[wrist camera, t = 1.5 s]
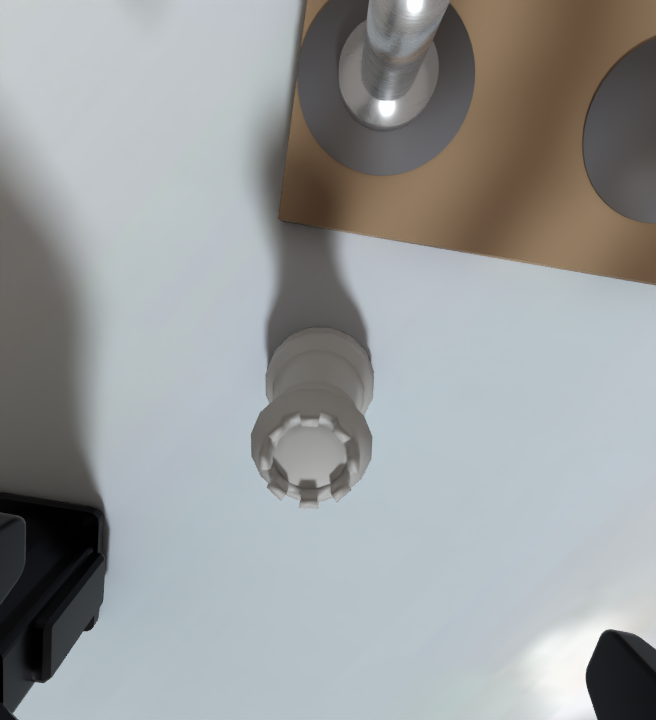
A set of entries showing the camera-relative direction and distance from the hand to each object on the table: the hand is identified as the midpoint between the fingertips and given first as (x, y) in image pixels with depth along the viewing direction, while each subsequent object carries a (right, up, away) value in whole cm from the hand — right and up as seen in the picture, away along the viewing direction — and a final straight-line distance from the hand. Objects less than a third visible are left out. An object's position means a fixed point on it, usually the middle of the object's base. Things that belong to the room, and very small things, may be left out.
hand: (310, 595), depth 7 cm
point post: (+2, +13, +8) cm, 15 cm away
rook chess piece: (0, +3, +12) cm, 12 cm away
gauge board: (+7, +13, +9) cm, 17 cm away
